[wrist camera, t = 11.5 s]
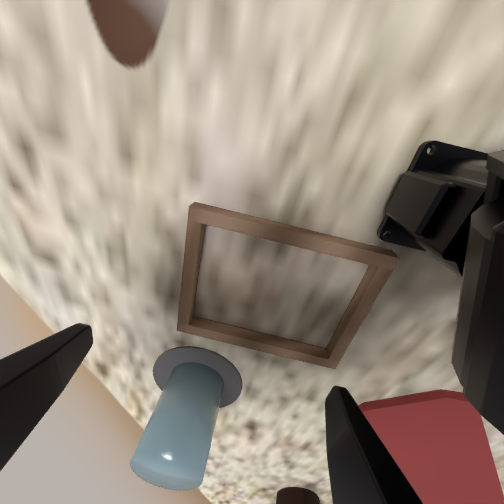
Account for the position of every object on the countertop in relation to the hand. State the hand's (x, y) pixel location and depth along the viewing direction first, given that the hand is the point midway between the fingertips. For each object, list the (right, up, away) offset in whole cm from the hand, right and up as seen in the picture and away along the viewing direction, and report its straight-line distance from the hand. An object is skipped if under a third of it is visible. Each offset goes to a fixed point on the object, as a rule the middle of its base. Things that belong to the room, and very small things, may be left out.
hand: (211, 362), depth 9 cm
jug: (-5, -11, +18) cm, 22 cm away
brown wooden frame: (+3, +1, +12) cm, 12 cm away
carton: (+22, -21, +21) cm, 37 cm away
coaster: (-5, -10, +18) cm, 21 cm away
